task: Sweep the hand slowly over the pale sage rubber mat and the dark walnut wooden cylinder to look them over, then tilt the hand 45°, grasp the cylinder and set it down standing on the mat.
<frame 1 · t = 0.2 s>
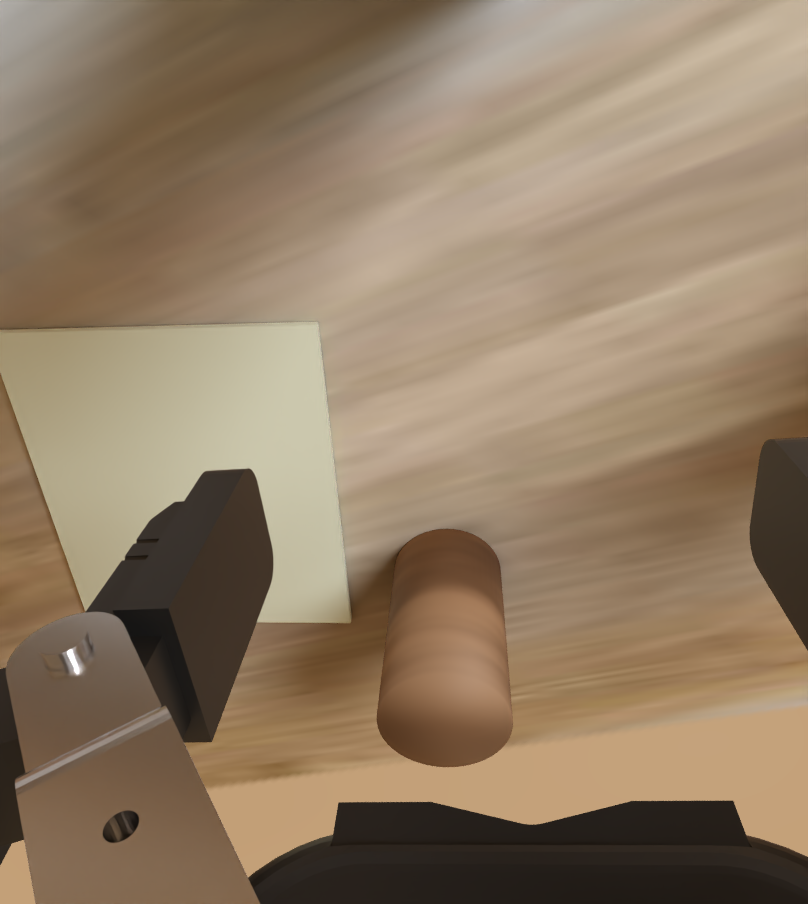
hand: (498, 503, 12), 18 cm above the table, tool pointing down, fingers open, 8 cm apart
walnut cylinder: (447, 572, 35), on the table
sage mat: (189, 488, 34), on the table
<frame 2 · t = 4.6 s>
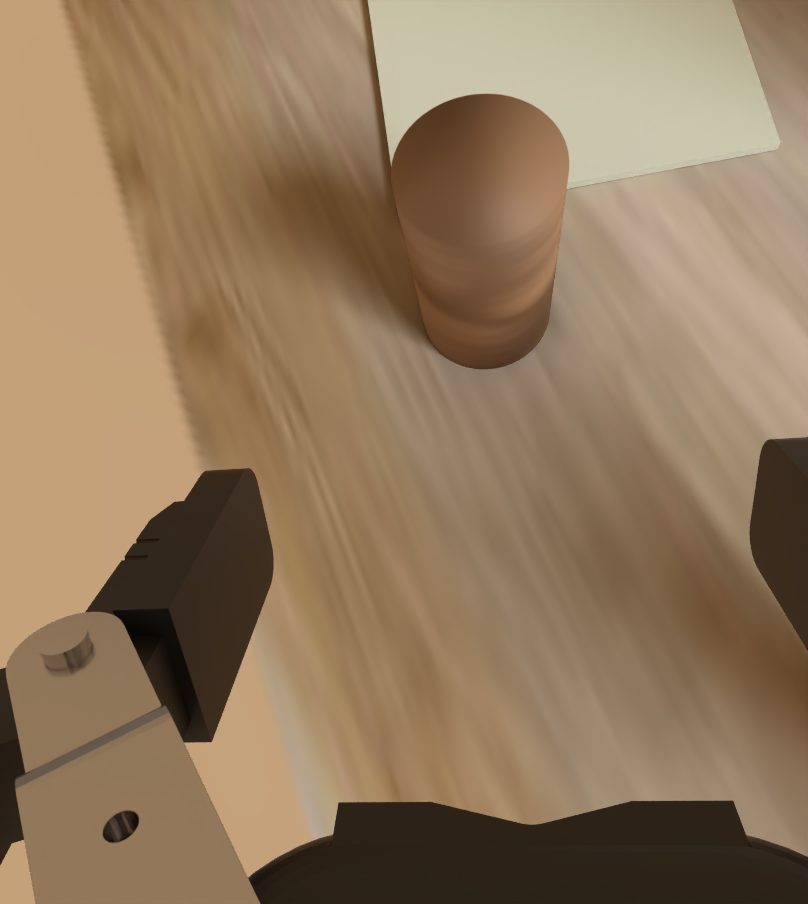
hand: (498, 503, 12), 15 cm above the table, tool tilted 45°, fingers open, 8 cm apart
walnut cylinder: (485, 310, 29), on the table
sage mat: (553, 56, 32), on the table
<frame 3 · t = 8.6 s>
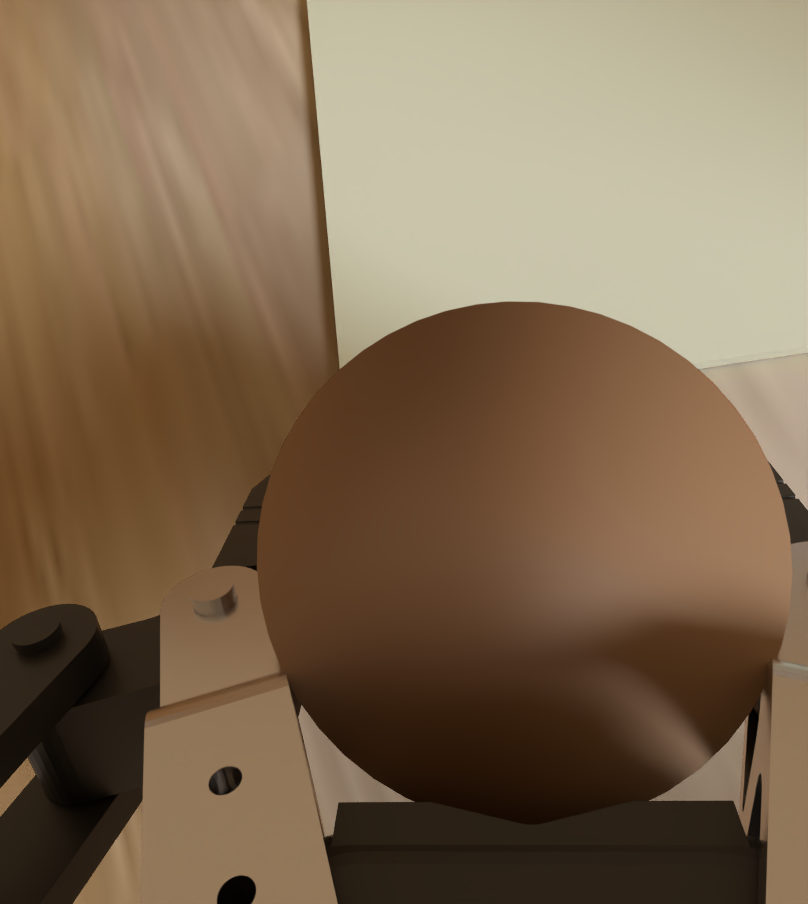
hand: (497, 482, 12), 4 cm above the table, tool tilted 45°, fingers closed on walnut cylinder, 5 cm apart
walnut cylinder: (503, 612, 16), on the table, touching gripper
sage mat: (620, 131, 19), on the table
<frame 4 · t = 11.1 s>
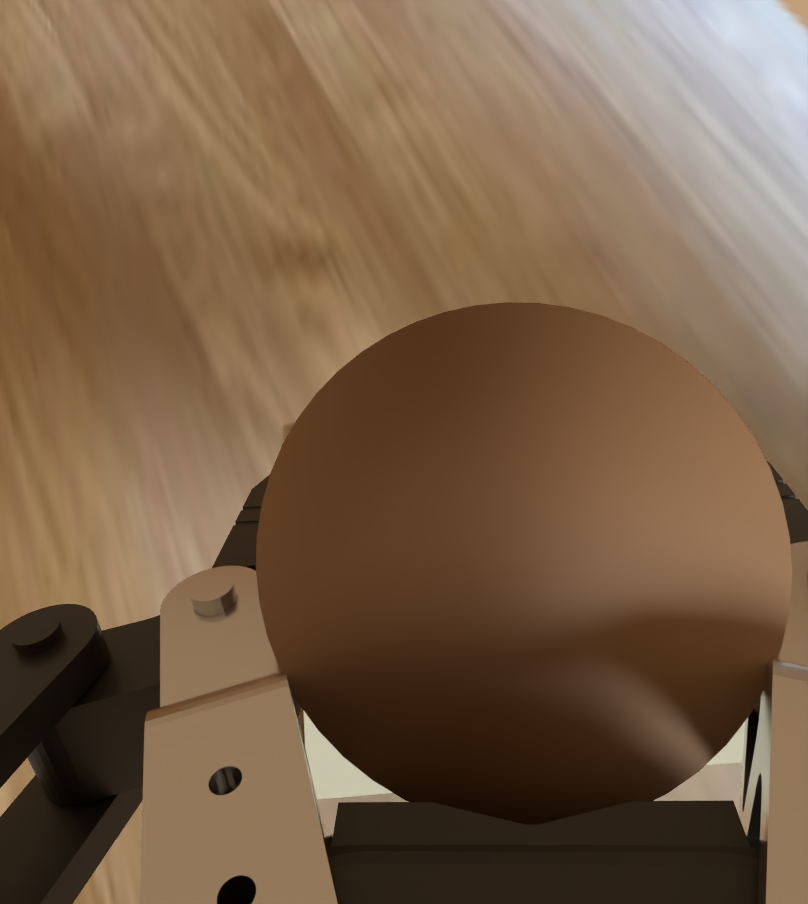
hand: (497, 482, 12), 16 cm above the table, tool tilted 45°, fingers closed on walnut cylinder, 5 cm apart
walnut cylinder: (502, 613, 16), point 12 cm above the table, touching gripper
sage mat: (505, 579, 27), on the table
when the fingers open (6 cm above the table, at t = 13.7 s): walnut cylinder drops 2 cm, resting on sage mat.
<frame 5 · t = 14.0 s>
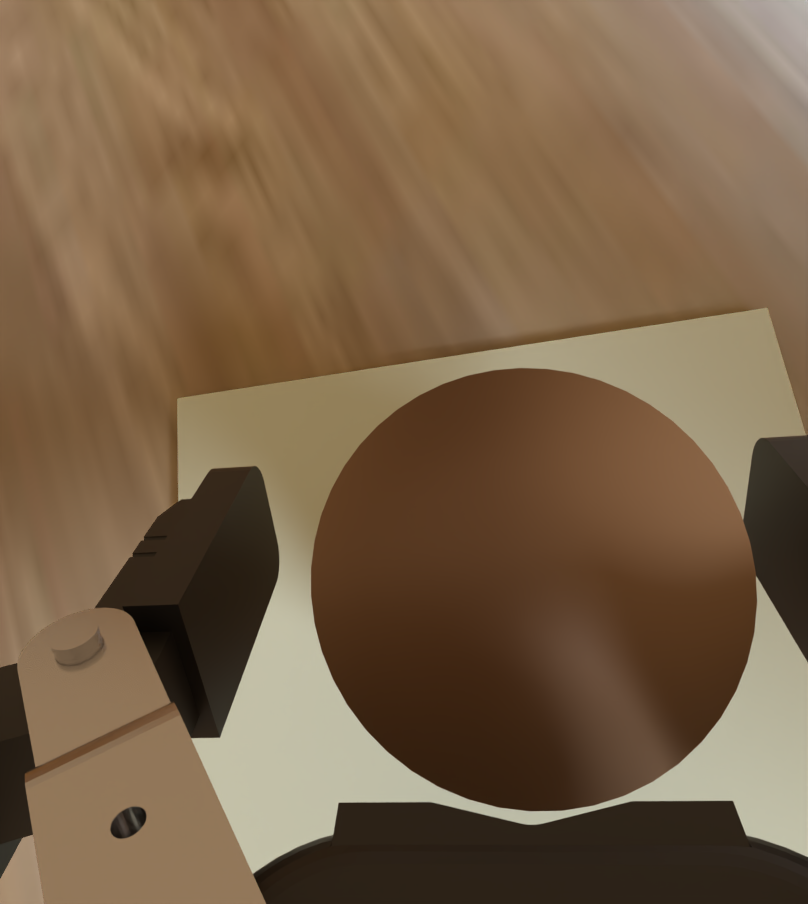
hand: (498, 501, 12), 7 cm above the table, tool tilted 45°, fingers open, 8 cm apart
walnut cylinder: (510, 621, 17), resting on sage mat
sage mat: (501, 619, 17), on the table
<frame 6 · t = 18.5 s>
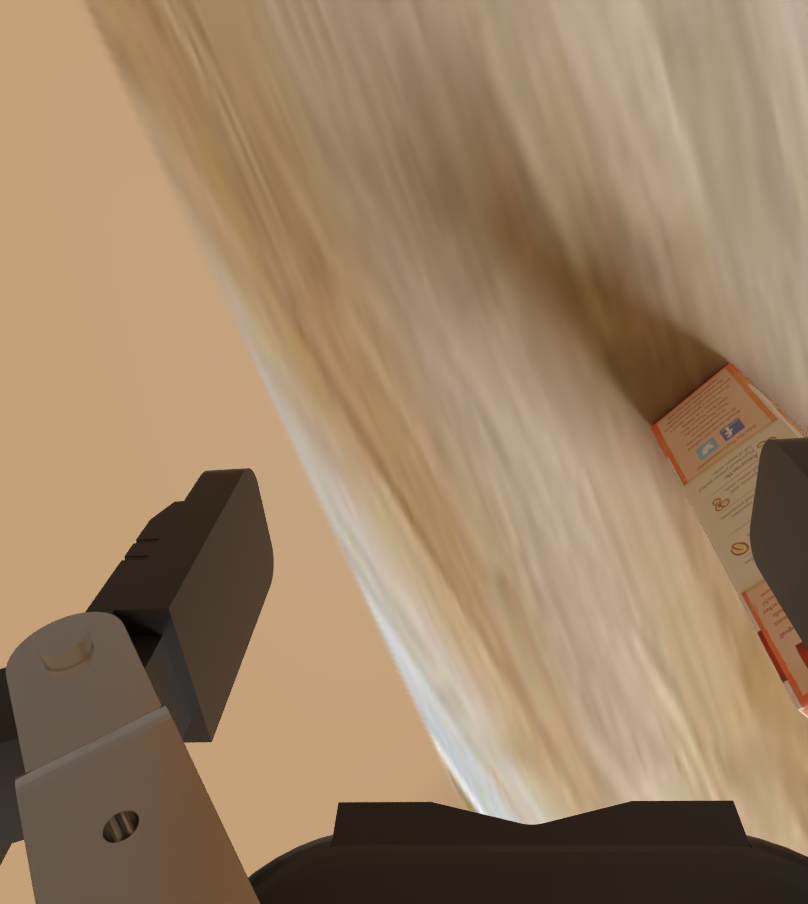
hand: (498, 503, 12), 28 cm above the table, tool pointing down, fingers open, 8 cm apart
cracker box: (760, 467, 42), on the table
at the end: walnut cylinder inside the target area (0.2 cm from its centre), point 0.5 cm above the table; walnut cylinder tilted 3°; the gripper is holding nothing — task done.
